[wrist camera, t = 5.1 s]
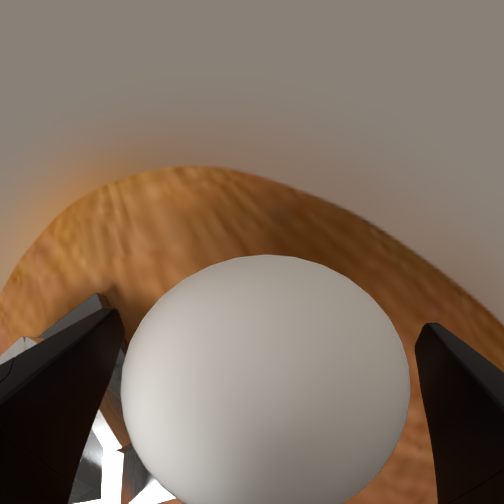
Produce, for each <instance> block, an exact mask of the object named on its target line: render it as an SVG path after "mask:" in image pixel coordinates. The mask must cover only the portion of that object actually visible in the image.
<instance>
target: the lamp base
mask: <svg viewBox="0 0 504 504" xmlns="http://www.w3.org/2000/svg"><path fill="white" fill-rule="evenodd" d="M103 307H110V306H109V304H108V301H107V299H106V297H105V296H103V295H101V294H98V293H95V294H94V295H93V296H91V297H90V298H89V299H87V300H86V301H85V302H83V303H82V304H80V305H79V306H78V307H76V308H75V309H74V310H72V311H71V312H70V313H68V314H67V315H66V316H65V317H63V318H62V319H61V320H59V321H58V322H57V323H55V324H54V325H53V326H52V327H50V328H49V329H48V330H46V331H45V332H44V333H43V334H41V335H40V336H39V337H38V338H35V337H29V336H26V337H24V336H22V337H21V338H20V339H19V340H18V341H17V342H16V343H14V344H13V345H12V346H11V347H10V348H9V349H8V350H6V351H5V352H4V353H3V354H2V355H1V356H0V364H2V363H4V362H6V361H8V360H9V359H11V358H13V357H16V355H18V354H20V353H22V352H23V351H25V350H27V349H29V348H31V347H32V346H34V345H36V344H38V343H39V342H41V341H43V340H45V339H47V338H48V337H50V336H52V335H54V334H56V333H57V332H59V331H61V330H63V329H65V328H66V327H68V326H70V325H72V324H74V323H75V322H77V321H79V320H81V319H83V318H85V317H86V316H88V315H90V314H92V313H94V312H96V311H98V310H99V309H101V308H103ZM127 350H128V345H127V343H126V341H125V339H123V342H122V345H121V348H120V351H119V355H118V358H117V361H116V364H115V368H114V371H113V374H112V377H111V380H110V382H109V385H108V387H107V390H106V392H105V395H104V397H103V400H102V402H101V405H100V407H99V410H98V412H97V415H96V418H95V420H94V423H93V426H92V429H91V431H90V434H89V437H88V440H87V443H86V446H85V448H84V451H83V454H82V457H81V461H80V464H79V467H78V470H77V473H76V476H75V480H74V483H73V487H72V491H71V494H70V498H69V502H68V504H156V503H160V502H163V501H167V500H170V499H174V498H176V497H175V496H173V495H172V494H171V493H169V492H168V491H167V490H166V489H164V488H163V487H162V486H161V485H160V484H159V482H158V481H157V480H156V479H155V478H154V477H153V476H152V475H151V474H150V472H149V471H148V470H147V469H146V467H145V466H144V464H143V463H142V461H141V459H140V458H139V456H138V454H137V452H136V451H135V449H134V447H133V445H132V442H131V439H130V436H129V434H128V431H127V428H126V425H125V421H124V417H123V410H122V402H121V393H120V391H121V379H122V368H123V364H124V360H125V357H126V354H127Z"/></svg>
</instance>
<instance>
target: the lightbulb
mask: <svg viewBox="0 0 504 504" xmlns="http://www.w3.org/2000/svg"><path fill="white" fill-rule="evenodd" d="M120 393H121V402H122V410H123V417H124V421H125V425H126V428H127V431H128V434H129V436H130V439H131V442H132V445H133V447H134V449H135V451H136V452H137V454H138V456H139V458H140V459H141V461H142V463H143V464H144V466H145V467H146V469H147V470H148V471H149V472H150V474H151V475H152V476H153V477H154V478H155V479H156V480H157V481H158V482H159V484H160V485H161V486H162V487H163V488H164V489H166V490H167V491H168V492H169V493H171V494H172V495H173V496H175V497H176V498H177V499H179V500H180V501H181V502H183V503H184V504H343V503H345V502H346V501H348V500H349V499H351V498H352V497H353V496H355V495H356V494H358V493H359V492H360V491H361V490H363V489H364V488H365V487H366V486H367V485H368V484H369V483H370V482H371V481H372V479H373V478H374V477H375V476H376V475H377V474H378V473H379V472H380V471H381V469H382V468H383V466H384V465H385V463H386V462H387V460H388V459H389V457H390V456H391V454H392V452H393V451H394V449H395V447H396V445H397V443H398V440H399V438H400V435H401V433H402V430H403V428H404V425H405V422H406V418H407V413H408V407H409V400H410V376H409V366H408V362H407V359H406V355H405V351H404V348H403V344H402V341H401V339H400V337H399V336H398V334H397V332H396V330H395V328H394V326H393V324H392V322H391V320H390V319H389V317H388V316H387V315H386V313H385V312H384V311H383V310H382V309H381V307H380V306H379V305H378V304H377V303H376V302H375V300H374V299H373V298H372V297H371V296H370V295H369V294H368V293H366V292H365V291H364V290H363V289H361V288H360V287H359V286H357V285H356V284H355V283H354V282H352V281H351V280H350V279H348V278H347V277H345V276H344V275H342V274H340V273H338V272H336V271H334V270H332V269H330V268H328V267H326V266H324V265H322V264H318V263H314V262H311V261H307V260H304V259H300V258H297V257H290V256H278V255H256V256H246V257H237V258H234V259H230V260H227V261H224V262H220V263H217V264H214V265H210V266H208V267H206V268H205V269H203V270H201V271H199V272H197V273H195V274H193V275H191V276H189V277H187V278H185V279H183V280H182V281H181V282H179V283H178V284H177V285H176V286H174V287H173V288H172V289H171V290H169V291H168V292H167V293H166V294H164V295H163V296H162V297H161V298H160V299H159V300H158V301H157V302H156V303H155V305H154V306H153V307H152V308H151V309H150V310H149V312H148V313H147V314H146V315H145V316H144V318H143V319H142V321H141V323H140V325H139V326H138V328H137V330H136V332H135V334H134V335H133V337H132V339H131V341H130V344H129V347H128V350H127V354H126V357H125V360H124V364H123V368H122V379H121V391H120Z"/></svg>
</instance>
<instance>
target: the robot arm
mask: <svg viewBox="0 0 504 504" xmlns="http://www.w3.org/2000/svg"><path fill="white" fill-rule="evenodd" d="M124 335H125V329H124V326H123V323H122V320H121V317H120V314H119V311H118V310H117V309H116V308H112V307H103V308H101V309H99V310H98V311H96V312H94V313H92V314H90V315H88V316H86V317H85V318H83V319H81V320H79V321H77V322H75V323H74V324H72V325H70V326H68V327H66V328H65V329H63V330H61V331H59V332H57V333H56V334H54V335H52V336H50V337H48V338H47V339H45V340H43V341H41V342H39V343H38V344H36V345H34V346H32V347H31V348H29V349H27V350H25V351H23V352H22V353H20V354H18V355H16V357H13V358H11V359H9V360H8V361H6V362H4V363H2V364H0V504H68V502H69V498H70V494H71V491H72V487H73V483H74V480H75V476H76V473H77V470H78V467H79V464H80V461H81V457H82V454H83V451H84V448H85V446H86V443H87V440H88V437H89V434H90V431H91V429H92V426H93V423H94V420H95V418H96V415H97V412H98V410H99V407H100V405H101V402H102V400H103V397H104V395H105V392H106V390H107V387H108V385H109V382H110V380H111V377H112V374H113V371H114V368H115V364H116V361H117V358H118V355H119V351H120V348H121V345H122V342H123V339H124ZM415 355H416V361H417V367H418V374H419V381H420V388H421V394H422V399H423V404H424V408H425V413H426V418H427V423H428V428H429V433H430V439H431V445H432V451H433V458H434V466H435V474H436V484H437V496H438V504H504V373H503V372H502V371H501V370H500V369H498V368H497V367H496V366H495V365H493V364H492V363H491V362H489V361H488V360H487V359H486V358H484V357H483V356H482V355H480V354H479V353H478V352H476V351H475V350H474V349H473V348H471V347H470V346H469V345H467V344H466V343H465V342H463V341H462V340H460V339H459V338H458V337H456V336H455V335H454V334H452V333H451V332H450V331H448V330H447V329H445V328H444V327H443V326H441V325H440V324H438V323H427V324H425V325H424V326H423V328H422V330H421V333H420V335H419V337H418V339H417V342H416V344H415Z"/></svg>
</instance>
